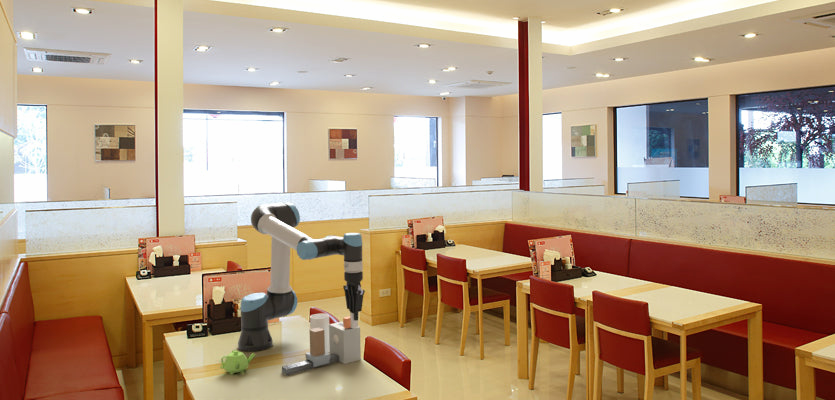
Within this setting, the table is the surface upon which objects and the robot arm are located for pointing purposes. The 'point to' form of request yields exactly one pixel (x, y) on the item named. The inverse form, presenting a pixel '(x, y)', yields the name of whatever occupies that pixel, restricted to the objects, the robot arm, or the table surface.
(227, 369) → the teapot
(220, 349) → the table surface
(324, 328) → the cup
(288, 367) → the rail
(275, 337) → the table surface
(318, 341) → the carriage
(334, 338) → the cabinet
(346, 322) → the block
